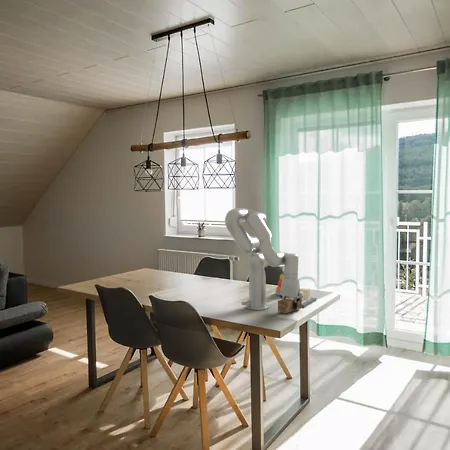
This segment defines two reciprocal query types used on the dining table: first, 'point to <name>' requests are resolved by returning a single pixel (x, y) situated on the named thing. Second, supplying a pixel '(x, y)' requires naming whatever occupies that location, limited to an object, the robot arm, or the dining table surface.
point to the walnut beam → (288, 305)
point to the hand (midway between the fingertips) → (289, 307)
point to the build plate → (306, 297)
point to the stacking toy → (279, 282)
